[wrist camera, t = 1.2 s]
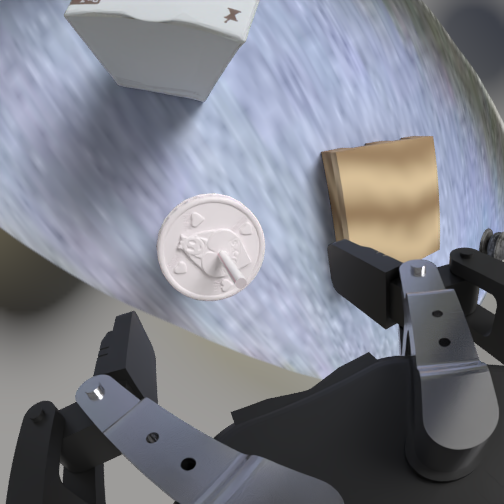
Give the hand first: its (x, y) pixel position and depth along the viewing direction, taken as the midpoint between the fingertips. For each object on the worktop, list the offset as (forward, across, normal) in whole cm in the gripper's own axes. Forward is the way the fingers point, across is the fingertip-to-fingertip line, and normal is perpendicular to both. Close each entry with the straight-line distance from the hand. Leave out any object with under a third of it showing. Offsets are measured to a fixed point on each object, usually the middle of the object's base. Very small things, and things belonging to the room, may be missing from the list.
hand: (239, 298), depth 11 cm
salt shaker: (+16, -46, +17) cm, 52 cm away
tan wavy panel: (+16, -20, +4) cm, 26 cm away
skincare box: (+16, -1, -14) cm, 21 cm away
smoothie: (+16, 0, 0) cm, 16 cm away
